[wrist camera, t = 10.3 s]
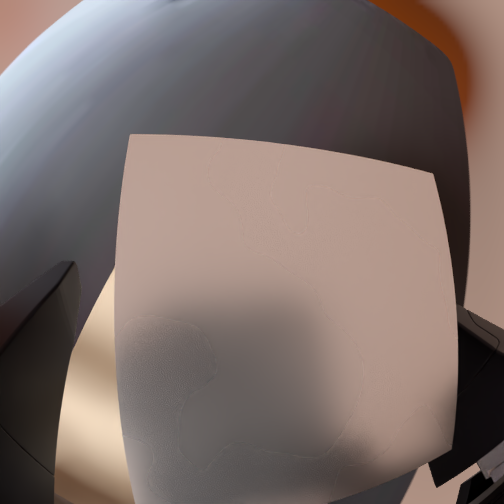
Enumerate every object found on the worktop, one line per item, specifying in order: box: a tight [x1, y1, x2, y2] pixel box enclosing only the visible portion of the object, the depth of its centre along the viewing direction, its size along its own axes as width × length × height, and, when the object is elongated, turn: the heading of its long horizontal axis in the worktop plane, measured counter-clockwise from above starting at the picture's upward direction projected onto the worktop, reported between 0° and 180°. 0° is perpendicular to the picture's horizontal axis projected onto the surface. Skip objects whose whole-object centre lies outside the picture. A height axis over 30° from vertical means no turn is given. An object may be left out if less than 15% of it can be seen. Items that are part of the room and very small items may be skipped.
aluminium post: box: [114, 134, 458, 504], centre depth 9 cm, size 4×4×12 cm
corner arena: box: [54, 268, 135, 504], centre depth 12 cm, size 20×13×4 cm, turn 154°
